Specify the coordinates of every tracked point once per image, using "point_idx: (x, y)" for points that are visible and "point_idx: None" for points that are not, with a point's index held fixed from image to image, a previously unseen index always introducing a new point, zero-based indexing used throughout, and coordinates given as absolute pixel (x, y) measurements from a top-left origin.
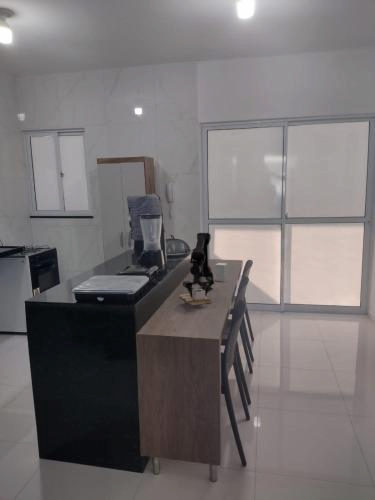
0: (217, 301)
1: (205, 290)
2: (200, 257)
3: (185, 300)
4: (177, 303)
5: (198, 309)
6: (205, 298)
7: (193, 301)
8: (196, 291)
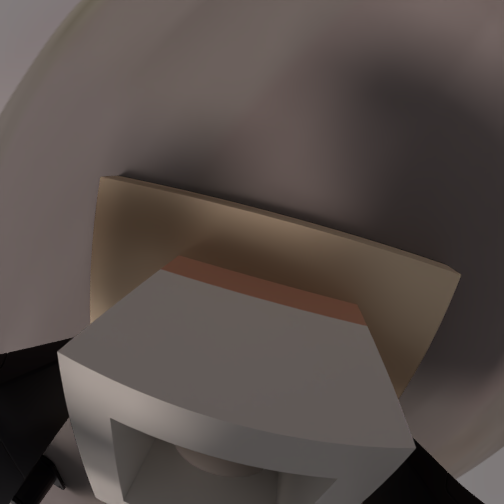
0: (49, 172)
1: (41, 402)
2: None
3: None
4: (459, 422)
5: (478, 74)
6: None
7: None
8: (341, 485)
